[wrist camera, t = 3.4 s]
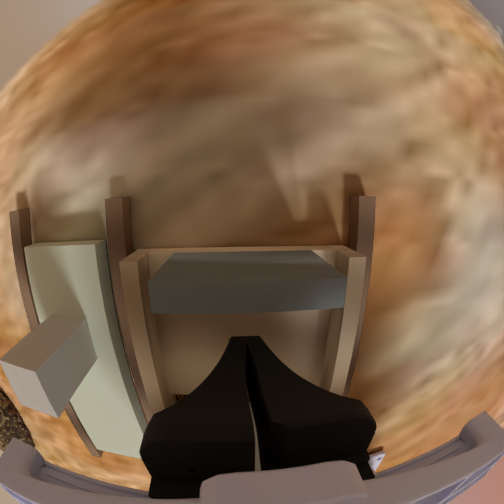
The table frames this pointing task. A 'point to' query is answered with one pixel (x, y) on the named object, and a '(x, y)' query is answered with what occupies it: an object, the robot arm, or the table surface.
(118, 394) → the strip
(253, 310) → the wooden tray
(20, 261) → the lane frame
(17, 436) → the bread roll
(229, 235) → the table surface
